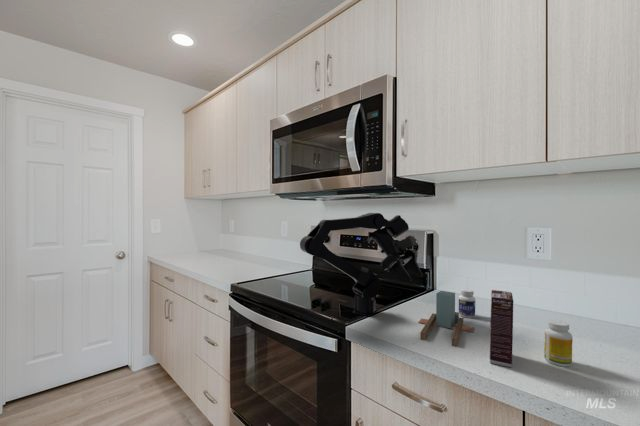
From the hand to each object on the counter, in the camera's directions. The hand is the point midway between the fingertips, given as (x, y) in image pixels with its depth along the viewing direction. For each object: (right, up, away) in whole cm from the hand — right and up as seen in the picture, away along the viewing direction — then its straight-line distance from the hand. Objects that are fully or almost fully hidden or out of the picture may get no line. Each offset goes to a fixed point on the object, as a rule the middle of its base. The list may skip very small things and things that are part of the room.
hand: (416, 278), depth 106 cm
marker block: (+7, -13, -6) cm, 16 cm away
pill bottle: (+19, -14, +4) cm, 24 cm away
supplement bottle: (+25, -14, -30) cm, 41 cm away
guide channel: (+5, -14, -10) cm, 18 cm away
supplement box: (+12, -14, -28) cm, 34 cm away
